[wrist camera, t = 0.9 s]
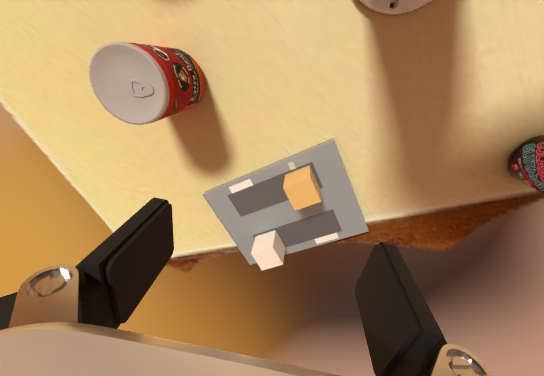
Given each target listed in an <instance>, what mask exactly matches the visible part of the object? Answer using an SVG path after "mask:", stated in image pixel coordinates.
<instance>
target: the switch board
mask: <svg viewBox="0 0 544 376" xmlns="http://www.w3.org/2000/svg"><path fill="white" fill-rule="evenodd" d="M309 165H310V167H311V169H312V172H313V174H314V176H315V178H316V181H317V183H318V185H319V188H320V195H321V202H319V203H316V204H313V205H310V206H307V207H304V208H302V209H299V210H296V211H295V210H294V208H293V206H292V204H291V203H290V201H289V199H288V197H287V195H286V193H285V191H284V189H283V185H284V179H285V175H286V174H288V173H291V172H293V171H296V170H299V169H301V168H304V167H306V166H309ZM203 196H204V198H205V199H206V201H207V202H208V204H209V205H210V206H211V208H212V209H213V211H214V212H215V214H216V215H217V217H218V218H219V220H220V221H221V223H222V224H223V226H224V227H225V229H226V230H227V232H228V233H229V235H230V236H231V237H232V239H233V240H234V242H235V243H236V245H237V246H238V248H239V249H240V251H241V252H242V254H243V255H244V257H245V258H246V260H247V261H248V263H249V264H250V265H251V264H255V263H257V262H256V261H255V259H254V258H253V256H252V255H251V251H252V248H253V244H254V241H255V237H256V236H258V235H262V234H265V233H268V232H271V231H274V230H276V232H277V233H278V235H279V237H280V239H281V240H282V242H283V244H284V246H285V252H284V255H287V254H290V253H294V252H297V251H301V250H304V249H308V248H311V247H315V246H319V245H322V244H326V243H329V242H333V241H336V240H340V239H343V238H347V237H350V236H354V235H358V234H361V233H365V232H368V228H367V225H366V223H365V220H364V217H363V215H362V212H361V209H360V207H359V204H358V202H357V199H356V196H355V194H354V191H353V188H352V186H351V183H350V180H349V178H348V175H347V173H346V170H345V167H344V165H343V162H342V159H341V157H340V154H339V152H338V149H337V146H336V144H335V141H334V138H333V139H330V140H328V141H325V142H323V143H321V144H318V145H316V146H313V147H311V148H309V149H306V150H304V151H301V152H299V153H297V154H294V155H292V156H289V157H287V158H285V159H282V160H280V161H277V162H275V163H273V164H270V165H268V166H265V167H263V168H261V169H258V170H256V171H253V172H251V173H249V174H246V175H244V176H241V177H239V178H237V179H234V180H232V181H229V182H227V183H225V184H222V185H220V186H217V187H215V188H213V189H210V190H208V191H205V193H204V194H203Z"/></svg>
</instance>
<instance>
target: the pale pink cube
mask: <svg viewBox="0 0 544 376" xmlns="http://www.w3.org/2000/svg"><path fill="white" fill-rule="evenodd" d="M284 252H285V246H284V244H283V242H282V240H281V239H280V237H279V235H278V233H277V232H276V230H274V231H271V232H268V233H265V234H262V235H258V236H256V237H255V241H254V244H253V248H252V251H251V255H252V256H253V258H254V259H255V261H256V262H257V264H258V265H259V267H260V268H261V270H265V269H269V268H273V267H276V266H280V265H283V262H284Z"/></svg>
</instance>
